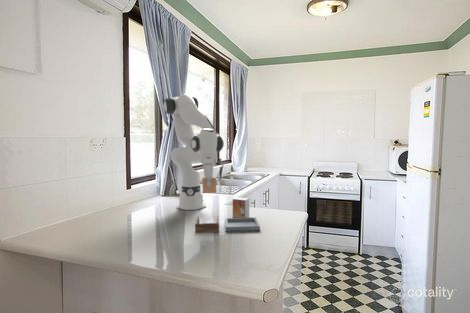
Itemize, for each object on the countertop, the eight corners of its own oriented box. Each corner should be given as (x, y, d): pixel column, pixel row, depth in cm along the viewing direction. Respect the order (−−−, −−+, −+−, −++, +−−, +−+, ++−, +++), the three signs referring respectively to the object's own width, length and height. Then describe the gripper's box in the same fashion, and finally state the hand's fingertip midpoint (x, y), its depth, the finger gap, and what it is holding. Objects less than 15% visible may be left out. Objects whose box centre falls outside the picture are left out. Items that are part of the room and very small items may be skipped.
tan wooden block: (203, 191, 156) (202, 176, 156) (216, 191, 156) (215, 176, 156) (202, 193, 151) (202, 178, 151) (216, 192, 152) (215, 177, 151)
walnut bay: (197, 224, 150) (197, 216, 150) (218, 223, 150) (218, 216, 150) (195, 232, 136) (195, 224, 136) (218, 232, 137) (218, 223, 137)
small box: (232, 217, 162) (232, 198, 161) (237, 215, 167) (236, 197, 166) (245, 219, 158) (245, 200, 157) (249, 216, 163) (249, 198, 162)
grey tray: (225, 222, 152) (225, 218, 151) (255, 222, 152) (255, 217, 152) (226, 232, 137) (225, 226, 136) (259, 231, 137) (259, 226, 137)
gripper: (204, 158, 163) (204, 182, 164) (201, 160, 143) (202, 188, 143) (215, 158, 163) (215, 182, 164) (214, 160, 143) (215, 188, 144)
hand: (209, 185), depth 154 cm, fingers closed on tan wooden block, 5 cm apart
